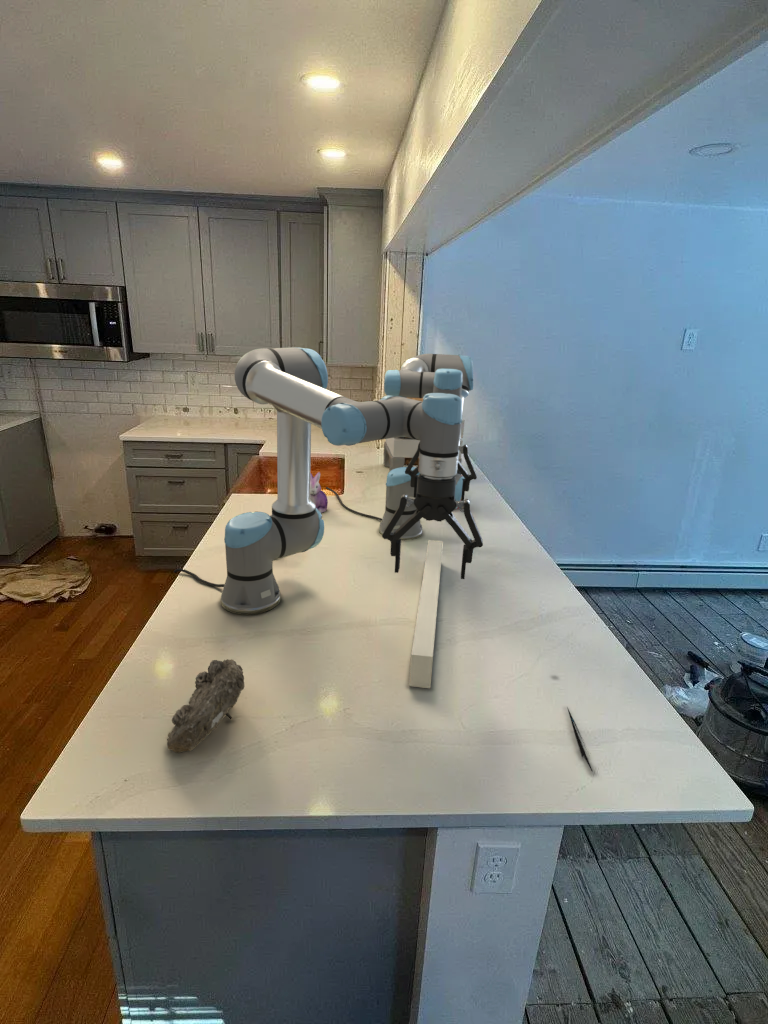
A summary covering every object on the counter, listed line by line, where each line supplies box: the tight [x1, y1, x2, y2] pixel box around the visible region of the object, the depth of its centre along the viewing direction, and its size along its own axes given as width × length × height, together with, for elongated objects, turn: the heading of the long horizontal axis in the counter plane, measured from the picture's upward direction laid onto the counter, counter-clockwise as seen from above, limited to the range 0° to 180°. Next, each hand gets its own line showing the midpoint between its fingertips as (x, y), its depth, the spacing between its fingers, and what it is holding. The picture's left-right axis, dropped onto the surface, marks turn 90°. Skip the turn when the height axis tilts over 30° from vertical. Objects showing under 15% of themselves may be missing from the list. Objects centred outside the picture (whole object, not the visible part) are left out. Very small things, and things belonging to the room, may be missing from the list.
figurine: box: [310, 471, 329, 514], centre depth 216 cm, size 9×10×15 cm
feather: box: [554, 675, 593, 772], centre depth 111 cm, size 2×28×2 cm
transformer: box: [383, 397, 465, 472], centre depth 268 cm, size 34×33×41 cm
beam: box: [408, 539, 444, 689], centre depth 147 cm, size 63×4×8 cm, turn 173°
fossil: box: [166, 658, 245, 754], centre depth 106 cm, size 22×10×15 cm
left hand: (429, 573), depth 118 cm, fingers open, 13 cm apart
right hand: (438, 499), depth 163 cm, fingers open, 13 cm apart
